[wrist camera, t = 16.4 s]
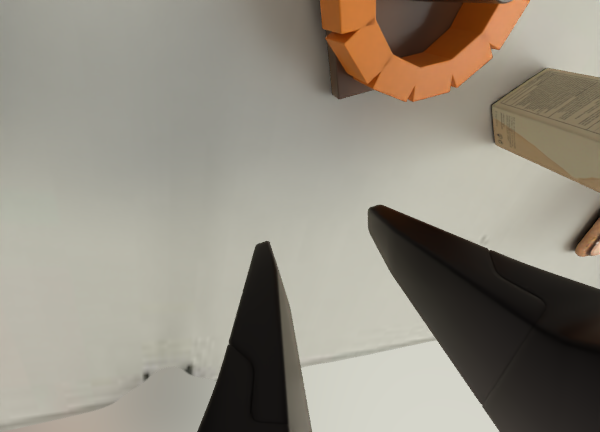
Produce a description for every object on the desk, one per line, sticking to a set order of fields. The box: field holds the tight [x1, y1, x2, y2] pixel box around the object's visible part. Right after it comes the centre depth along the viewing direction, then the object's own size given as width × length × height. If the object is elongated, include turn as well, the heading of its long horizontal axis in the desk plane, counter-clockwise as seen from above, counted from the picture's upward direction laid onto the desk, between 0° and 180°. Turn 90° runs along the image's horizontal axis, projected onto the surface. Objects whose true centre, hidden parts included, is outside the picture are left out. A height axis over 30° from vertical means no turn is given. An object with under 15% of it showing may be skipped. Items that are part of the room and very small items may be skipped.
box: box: [492, 68, 600, 193], centre depth 20 cm, size 5×4×11 cm
